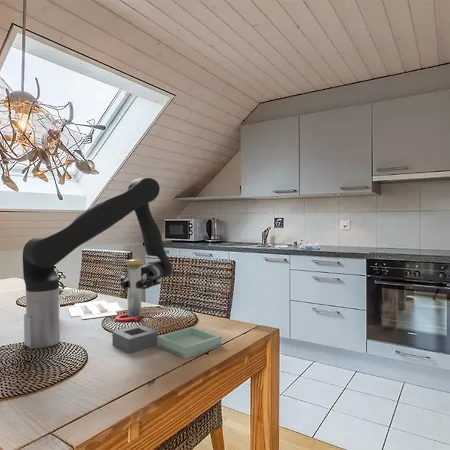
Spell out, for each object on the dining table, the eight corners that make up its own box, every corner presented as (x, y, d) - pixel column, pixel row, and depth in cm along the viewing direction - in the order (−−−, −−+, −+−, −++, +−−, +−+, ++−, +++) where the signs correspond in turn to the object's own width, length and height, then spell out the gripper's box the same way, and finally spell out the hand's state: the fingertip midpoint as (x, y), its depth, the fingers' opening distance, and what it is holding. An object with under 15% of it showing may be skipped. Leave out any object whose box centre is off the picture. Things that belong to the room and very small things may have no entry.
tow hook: (111, 323, 136) (137, 322, 135) (109, 286, 136) (135, 285, 135) (119, 316, 145) (144, 315, 144) (117, 282, 145) (142, 281, 144)
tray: (185, 358, 100) (185, 348, 100) (157, 346, 110) (156, 336, 110) (221, 346, 110) (221, 336, 110) (192, 335, 120) (192, 326, 120)
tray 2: (72, 323, 137) (72, 313, 137) (65, 309, 161) (65, 300, 161) (127, 315, 147) (126, 306, 147) (112, 303, 171) (112, 296, 171)
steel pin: (131, 318, 108) (131, 261, 107) (122, 315, 112) (122, 260, 111) (146, 315, 111) (146, 260, 111) (137, 312, 115) (137, 258, 115)
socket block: (129, 353, 105) (128, 339, 105) (112, 344, 112) (112, 331, 112) (157, 344, 112) (157, 331, 112) (140, 336, 119) (140, 324, 119)
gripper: (127, 264, 126) (108, 272, 109) (167, 265, 125) (154, 273, 108) (127, 286, 126) (108, 297, 109) (167, 286, 125) (154, 297, 108)
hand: (131, 285), depth 109 cm, fingers closed on steel pin, 4 cm apart
